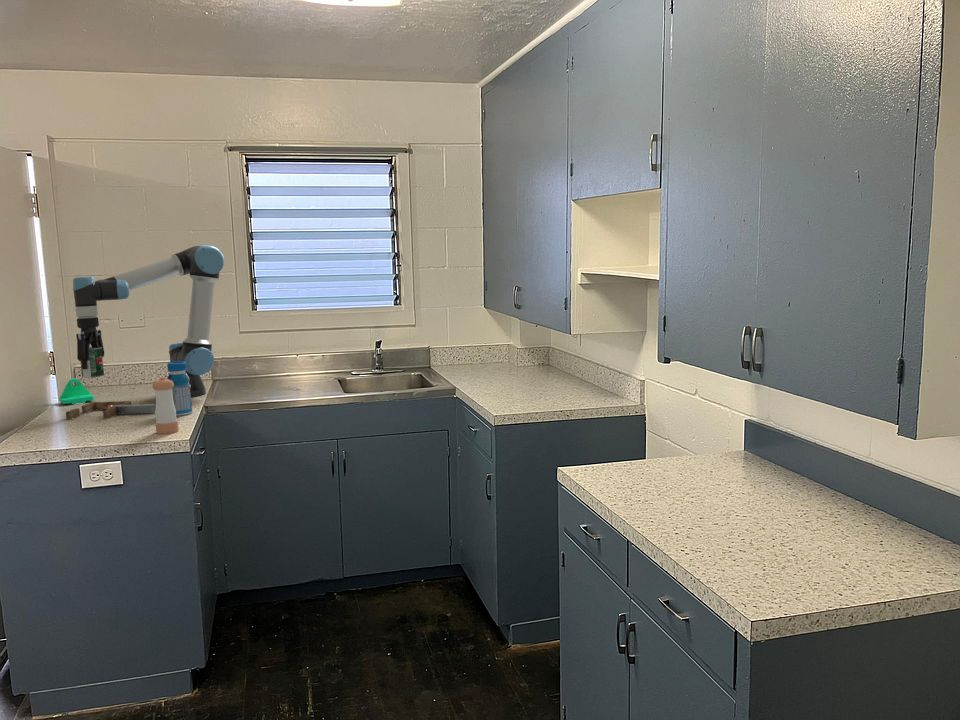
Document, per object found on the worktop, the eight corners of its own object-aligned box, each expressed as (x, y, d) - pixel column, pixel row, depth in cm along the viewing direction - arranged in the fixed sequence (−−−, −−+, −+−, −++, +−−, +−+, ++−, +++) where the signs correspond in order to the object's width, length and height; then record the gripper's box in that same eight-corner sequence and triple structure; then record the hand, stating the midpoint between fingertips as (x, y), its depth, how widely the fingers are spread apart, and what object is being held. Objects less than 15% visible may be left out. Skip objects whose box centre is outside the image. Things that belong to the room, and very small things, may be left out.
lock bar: (155, 411, 312) (154, 403, 311) (151, 413, 309) (151, 404, 308) (112, 412, 313) (111, 404, 312) (107, 414, 309) (106, 405, 309)
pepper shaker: (181, 428, 281) (176, 375, 278) (174, 433, 274) (169, 378, 271) (160, 429, 281) (155, 376, 278) (153, 434, 273) (147, 379, 271)
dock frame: (131, 408, 321) (131, 400, 321) (107, 418, 302) (106, 411, 302) (93, 409, 322) (92, 401, 322) (66, 419, 303) (65, 412, 302)
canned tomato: (79, 376, 310) (76, 348, 308) (100, 373, 315) (97, 346, 313) (85, 378, 304) (82, 350, 302) (107, 375, 309) (104, 347, 308)
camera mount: (64, 406, 331) (61, 382, 330) (60, 404, 337) (57, 380, 336) (95, 402, 338) (92, 378, 337) (90, 399, 344) (88, 376, 343)
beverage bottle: (182, 416, 301) (177, 364, 298) (164, 415, 304) (159, 364, 301) (197, 412, 309) (193, 361, 306) (180, 411, 312) (175, 360, 309)
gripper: (92, 314, 317) (98, 371, 320) (62, 319, 296) (68, 380, 299) (110, 314, 316) (116, 371, 319) (81, 319, 296) (88, 379, 299)
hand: (93, 375), depth 309 cm, fingers closed on canned tomato, 8 cm apart
